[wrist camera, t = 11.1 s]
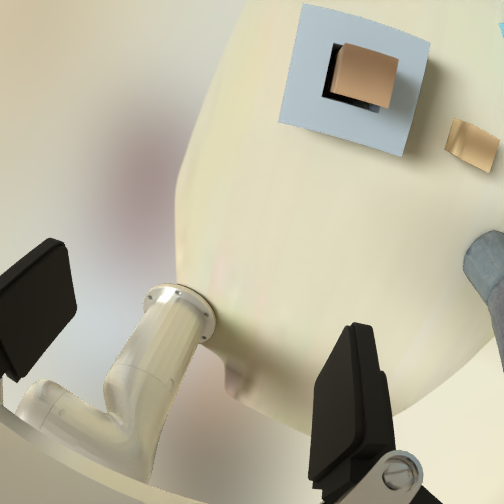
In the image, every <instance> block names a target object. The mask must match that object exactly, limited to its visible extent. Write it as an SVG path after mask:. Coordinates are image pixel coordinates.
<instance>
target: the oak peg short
mask: <svg viewBox="0 0 504 504" xmlns="http://www.w3.org/2000/svg"><path fill="white" fill-rule="evenodd" d="M499 142H500V140H499V139H497V138H496V137H494V136H492V135H490V134H489V133H487V132H485V131H483V130H482V129H480V128H478V127H476V126H474V125H472V124H469V123H466V122H464V121H461V120H458V119H455V118H454V120H453V124H452V127H451V130H450V134H449V137H448V140H447V143H446V146H445V150H447V151H449V152H450V153H452V154H454V155H455V156H457V157H458V158H460V159H462V160H464V161H466V162H468V163H470V164H472V165H474V166H476V167H478V168H480V169H482V170H484V171H486V172H488V173H489V172H490V169H491V166H492V163H493V160H494V157H495V154H496V151H497V148H498V145H499Z"/></svg>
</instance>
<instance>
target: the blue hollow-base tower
mask: <svg viewBox="0 0 504 504" xmlns="http://www.w3.org/2000/svg"><path fill="white" fill-rule="evenodd" d="M499 26H500V28H501V31H502V34H503V37H504V23H499Z"/></svg>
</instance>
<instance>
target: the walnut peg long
mask: <svg viewBox="0 0 504 504" xmlns="http://www.w3.org/2000/svg"><path fill="white" fill-rule="evenodd" d="M398 62H399V59H397V58H394V57H392V56H389V55H386V54H383V53H380V52H376V51H373V50H370V49H367V48H363V47H360V46H356V45H353V44H349V43H345V44H344V45H343V46H342V48H341V49H340V50H339V52H338V53H337V55H336V56H335V57H334V62H333V67H332V72H331V77H330V82H329V87H328V91H330V92H333V93H336V94H340V95H344V96H348V97H351V98H355V99H358V100H362V101H365V102H368V103H372V104H375V105H378V106H381V107H384V108H387V109H388V107H389V103H390V99H391V94H392V90H393V86H394V81H395V76H396V72H397V67H398Z"/></svg>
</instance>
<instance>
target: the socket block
mask: <svg viewBox="0 0 504 504" xmlns="http://www.w3.org/2000/svg"><path fill="white" fill-rule="evenodd" d="M345 43H349V44H353V45H356V46H360V47H363V48H367V49H370V50H373V51H376V52H380V53H383V54H386V55H389V56H392V57H394V58H397V59H399V62H398V67H397V72H396V76H395V81H394V86H393V90H392V94H391V99H390V103H389V107H388V109H387V108H384V107H381V106H378V105H375V104H372V103H369V106H368V109H367V108H364V107H360V106H357V105H354V104H351V103H347V102H344V101H340V100H337V99H333V98H329V97H325V96H322V92H323V88H324V83H325V79H326V74H327V70H328V65H329V60H330V56H331V51H336V52H339V50H340V49H341V48H342V46H343V45H344V44H345ZM429 48H430V42H427V41H425V40H423V39H420V38H418V37H415V36H413V35H410V34H408V33H405V32H403V31H400V30H397V29H395V28H392V27H389V26H386V25H383V24H380V23H377V22H374V21H371V20H368V19H365V18H361V17H358V16H355V15H351V14H347V13H344V12H340V11H336V10H332V9H327V8H323V7H319V6H314V5H309V4H304V3H303V5H302V10H301V14H300V19H299V24H298V29H297V34H296V39H295V43H294V48H293V53H292V58H291V63H290V68H289V72H288V77H287V82H286V87H285V92H284V96H283V101H282V106H281V111H280V116H279V121H278V122H279V123H283V124H288V125H292V126H296V127H300V128H305V129H309V130H313V131H316V132H320V133H324V134H328V135H331V136H335V137H339V138H342V139H346V140H349V141H352V142H356V143H359V144H362V145H366V146H369V147H372V148H375V149H378V150H381V151H384V152H387V153H390V154H393V155H396V156H399V157H402V154H403V150H404V147H405V144H406V141H407V137H408V134H409V130H410V127H411V123H412V120H413V116H414V112H415V109H416V105H417V101H418V97H419V93H420V89H421V85H422V81H423V76H424V72H425V67H426V63H427V58H428V53H429Z"/></svg>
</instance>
